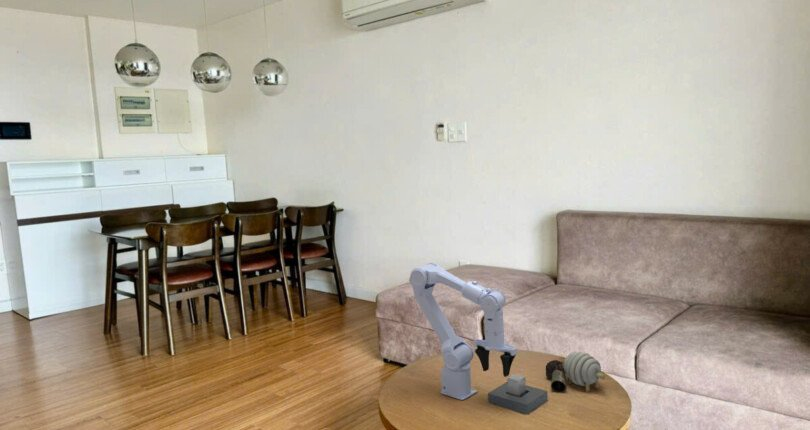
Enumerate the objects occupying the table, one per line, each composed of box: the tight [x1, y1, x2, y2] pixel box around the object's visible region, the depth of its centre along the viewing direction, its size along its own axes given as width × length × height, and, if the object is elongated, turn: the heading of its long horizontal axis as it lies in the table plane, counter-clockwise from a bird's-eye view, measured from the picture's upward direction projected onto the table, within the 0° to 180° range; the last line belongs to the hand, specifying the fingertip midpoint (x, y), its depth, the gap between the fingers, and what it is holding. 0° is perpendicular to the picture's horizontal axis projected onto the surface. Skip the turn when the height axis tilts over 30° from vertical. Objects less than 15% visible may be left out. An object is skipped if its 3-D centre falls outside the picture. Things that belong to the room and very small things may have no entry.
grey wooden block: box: [506, 373, 527, 397], centre depth 175 cm, size 4×4×8 cm
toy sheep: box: [562, 351, 606, 392], centre depth 183 cm, size 11×17×11 cm, turn 35°
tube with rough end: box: [545, 359, 567, 394], centre depth 188 cm, size 18×7×6 cm, turn 164°
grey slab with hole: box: [487, 381, 549, 415], centre depth 175 cm, size 14×12×3 cm
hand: (496, 372), depth 175 cm, fingers open, 7 cm apart
